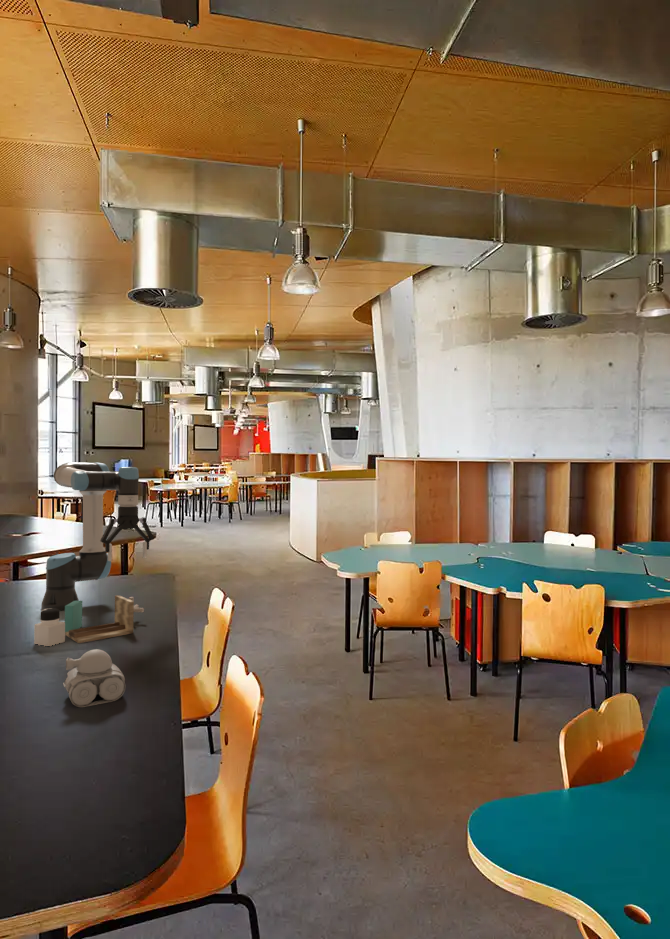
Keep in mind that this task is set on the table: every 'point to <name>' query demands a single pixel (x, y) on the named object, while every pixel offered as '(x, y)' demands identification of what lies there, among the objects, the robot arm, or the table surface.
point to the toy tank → (93, 679)
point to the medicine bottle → (49, 628)
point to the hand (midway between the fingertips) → (127, 559)
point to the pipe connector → (136, 606)
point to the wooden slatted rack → (120, 627)
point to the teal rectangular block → (73, 616)
